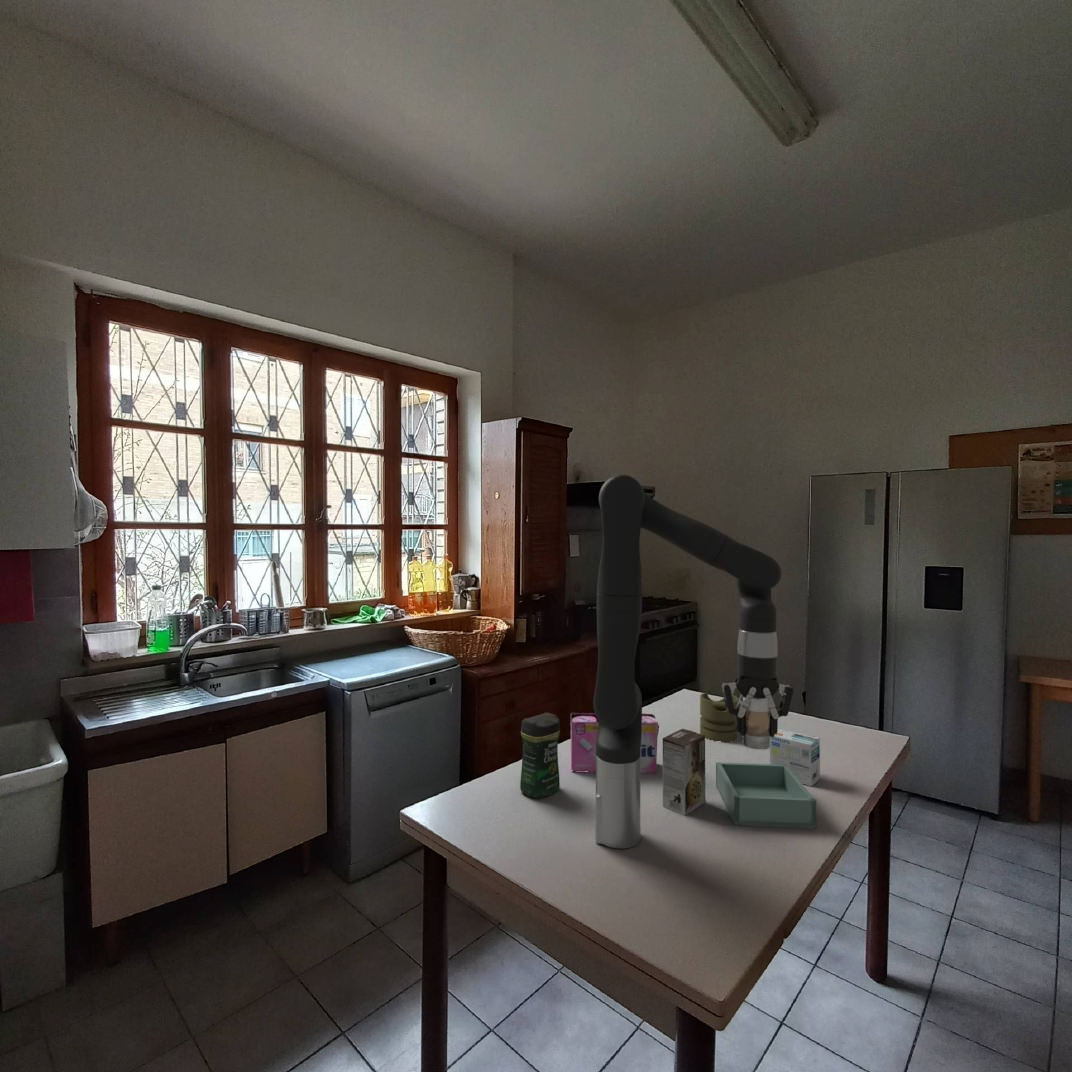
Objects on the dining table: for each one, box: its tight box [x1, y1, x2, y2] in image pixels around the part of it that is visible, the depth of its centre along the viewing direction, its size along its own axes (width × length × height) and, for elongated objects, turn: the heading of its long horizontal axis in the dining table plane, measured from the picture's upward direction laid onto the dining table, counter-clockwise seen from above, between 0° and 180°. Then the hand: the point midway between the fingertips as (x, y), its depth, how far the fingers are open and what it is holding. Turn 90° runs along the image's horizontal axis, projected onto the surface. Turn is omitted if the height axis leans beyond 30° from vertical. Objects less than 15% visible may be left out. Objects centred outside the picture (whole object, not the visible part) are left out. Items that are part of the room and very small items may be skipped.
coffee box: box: [662, 728, 707, 816], centre depth 136 cm, size 9×6×16 cm
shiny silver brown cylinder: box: [742, 697, 770, 750], centre depth 118 cm, size 5×5×10 cm
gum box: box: [570, 712, 660, 774], centre depth 157 cm, size 24×8×14 cm, turn 88°
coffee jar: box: [519, 712, 561, 799], centre depth 143 cm, size 10×8×19 cm
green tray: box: [715, 761, 817, 829], centre depth 135 cm, size 17×19×6 cm
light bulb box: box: [769, 728, 821, 787], centre depth 151 cm, size 11×7×11 cm, turn 47°
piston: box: [699, 692, 739, 743], centre depth 181 cm, size 11×12×11 cm
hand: (756, 734), depth 119 cm, fingers closed on shiny silver brown cylinder, 5 cm apart
